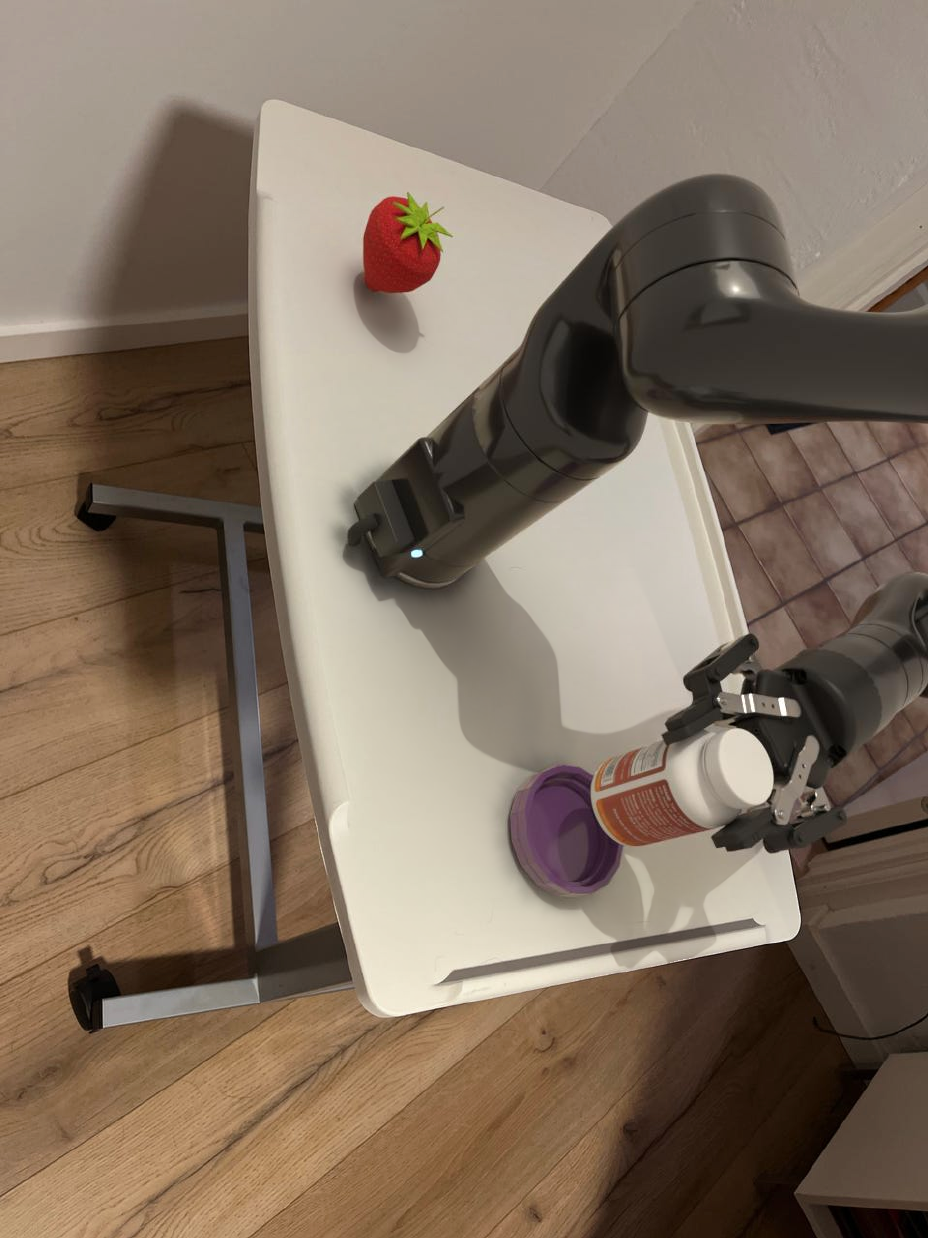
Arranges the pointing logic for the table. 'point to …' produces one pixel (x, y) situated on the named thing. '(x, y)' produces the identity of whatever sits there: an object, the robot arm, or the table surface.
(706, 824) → the pill bottle
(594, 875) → the plum lid
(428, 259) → the strawberry
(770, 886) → the table surface
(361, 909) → the table surface
